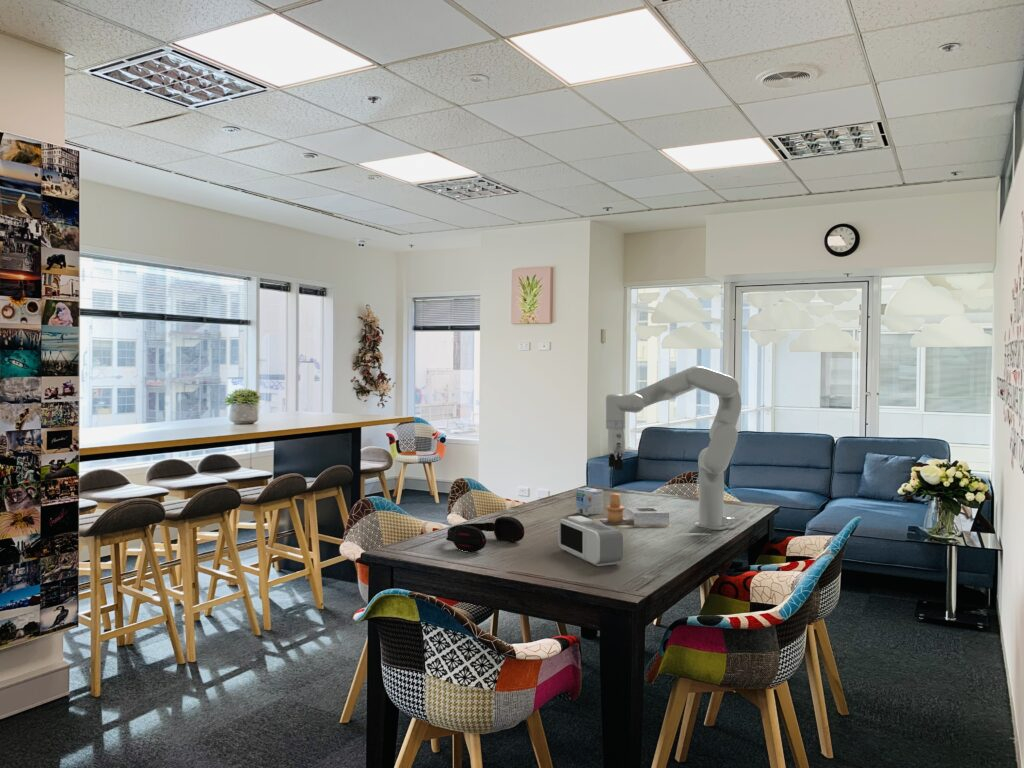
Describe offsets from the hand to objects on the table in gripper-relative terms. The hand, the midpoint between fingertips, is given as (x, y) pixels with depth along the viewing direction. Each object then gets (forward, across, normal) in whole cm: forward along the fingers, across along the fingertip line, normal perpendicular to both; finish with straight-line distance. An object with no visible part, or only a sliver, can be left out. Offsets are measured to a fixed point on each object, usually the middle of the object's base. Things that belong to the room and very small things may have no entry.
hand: (615, 468), depth 309 cm
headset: (+23, -32, +54) cm, 67 cm away
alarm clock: (+23, -52, +21) cm, 61 cm away
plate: (+23, 0, -7) cm, 24 cm away
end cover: (+21, 0, 0) cm, 21 cm away
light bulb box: (+23, +25, +5) cm, 34 cm away
